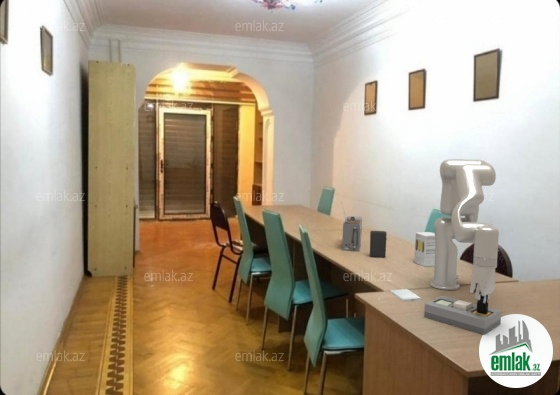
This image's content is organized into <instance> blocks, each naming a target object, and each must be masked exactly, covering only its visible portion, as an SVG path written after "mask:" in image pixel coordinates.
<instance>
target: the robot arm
mask: <svg viewBox="0 0 560 395" xmlns="http://www.w3.org/2000/svg"><path fill="white" fill-rule="evenodd" d="M439 175H440V179H441V184H442V185H441V194H440V203H439V209H440V210H439V211H440V212H441V214H442V215H445V216H444V217H439V218H436V220H435V222H434V224H433V227H434V229H433V230H434V234H435V265H434V266H433V269H434V270H433V279H432V280H431V281H430V282H429V285H430V286H431V287H432V288H435V289H438V290H444V291H455V290H459V289H460V284H459V283H458V282H457V280H458V279H459V278H460V276H459V275H458V274H457V269H458V253H459V252H458V246H457V245H456V243H455V242H454V241H453V240H455V241H456V242H458V243H463V244H473V257H472V258H473V259H472V265H473V268H472V272H471V279H470V289H469V292H470V294H471V295H473V294H474V299H475V300H476V304H477V313H481V314H487V313H488V307H489V301H490V295H491V293H493V292H494V291H495V287H496V286H495V285H496V268H498V252H499V250H498V249H499V234H500V232H499V229H498V228H497V227H495V226H494V225H493V224H492V223H490V222H478V220H479V218H478V217H479V213H480V212H479V210H480V205H482V203H483V202H484V200H485V195H484V190H483V186H484V187H490V186H492V185H494V184H495V183H496V179H497V174H496V170H495V168H494V166H493V165H492V164H491V163H489V162H487V161H485V160H481V159H463V158H462V159H460V158H459V159H458V158H457V159H456V158H453V159H451V158H450V159H445V160H443V161H442V162H441V163H440V166H439ZM446 216H447V217H446Z"/></svg>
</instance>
